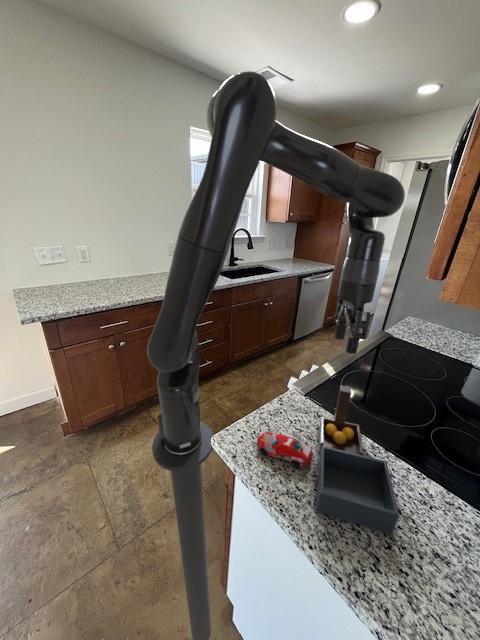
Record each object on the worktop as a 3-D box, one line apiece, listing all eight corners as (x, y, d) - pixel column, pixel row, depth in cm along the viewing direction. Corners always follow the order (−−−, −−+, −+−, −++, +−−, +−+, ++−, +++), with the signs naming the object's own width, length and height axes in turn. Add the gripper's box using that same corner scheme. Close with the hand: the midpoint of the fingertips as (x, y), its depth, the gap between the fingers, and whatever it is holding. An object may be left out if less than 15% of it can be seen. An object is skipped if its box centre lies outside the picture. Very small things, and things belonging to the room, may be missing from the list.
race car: (253, 451, 64) (253, 438, 62) (261, 435, 68) (262, 423, 67) (307, 473, 59) (309, 460, 57) (313, 454, 63) (315, 442, 62)
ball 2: (333, 442, 63) (334, 429, 65) (332, 443, 66) (333, 430, 67) (346, 445, 63) (347, 432, 64) (344, 446, 65) (345, 433, 66)
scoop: (319, 421, 73) (326, 382, 68) (355, 429, 71) (365, 389, 65) (318, 455, 63) (326, 412, 58) (360, 465, 61) (371, 422, 55)
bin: (316, 511, 51) (320, 492, 49) (318, 462, 61) (321, 445, 59) (391, 534, 48) (399, 515, 46) (380, 479, 58) (386, 461, 56)
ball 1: (323, 437, 67) (325, 427, 66) (324, 429, 70) (325, 420, 69) (336, 440, 66) (338, 430, 65) (336, 432, 69) (337, 422, 68)
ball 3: (340, 441, 66) (342, 431, 65) (340, 432, 69) (341, 423, 68) (353, 444, 65) (355, 434, 64) (352, 435, 68) (354, 426, 67)
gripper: (332, 273, 66) (321, 333, 71) (353, 283, 53) (338, 357, 58) (362, 275, 66) (349, 335, 71) (391, 286, 53) (372, 359, 58)
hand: (344, 345), depth 64 cm, fingers open, 8 cm apart
